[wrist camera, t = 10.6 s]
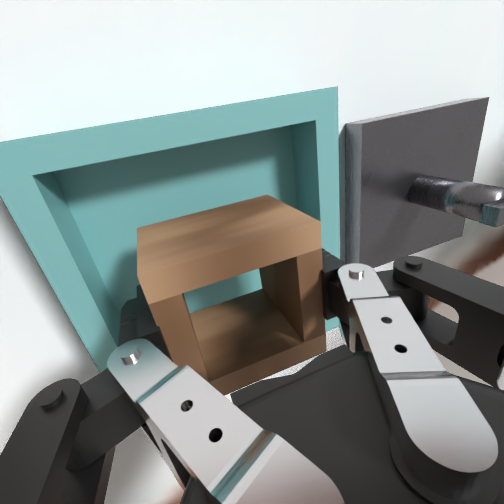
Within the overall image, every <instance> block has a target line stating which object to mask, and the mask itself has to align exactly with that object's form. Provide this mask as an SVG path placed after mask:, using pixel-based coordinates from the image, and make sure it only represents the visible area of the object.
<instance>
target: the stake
mask: <svg viewBox="0 0 504 504" xmlns="http://www.w3.org/2000/svg"><path fill="white" fill-rule="evenodd" d="M488 100H489V97H483V98H471V99H464V100H459V101H454V102H449V103H444V104H439V105H434V106H429V107H425V108H420V109H415V110H410V111H405V112H400V113H395V114H390V115H386V116H381V117H376V118H371V119H366V120H361V121H356V122H351V123H347V124H345V137H346V264H353V263H358V264H364V265H368V266H370V267H372V268H375V267H378V266H380V265H383V264H386V263H389V262H391V261H394V260H396V259H397V258H400V257H404V256H408V255H411V254H413V253H416V252H419V251H422V250H424V249H427V248H430V247H432V246H435V245H438V244H441V243H443V242H446V241H449V240H452V239H454V238H457V237H460V236H462V232H463V227H464V222H465V218H468V219H472V220H475V221H479V223H483V224H486V225H490V226H493V227H497V226H500V225H503V224H504V188H502V187H496V186H490V185H484V184H478V183H472V182H473V176H474V171H475V166H476V161H477V156H478V151H479V146H480V141H481V136H482V131H483V126H484V121H485V116H486V111H487V105H488Z"/></svg>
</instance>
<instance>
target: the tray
mask: <svg viewBox="0 0 504 504" xmlns="http://www.w3.org/2000/svg"><path fill="white" fill-rule="evenodd" d="M267 194H268V195H270V196H272V197H274V198H275V199H277V200H279V201H281V202H283V203H285V204H287V205H289V206H291V207H293V208H295V209H297V210H299V211H301V212H303V213H305V214H307V215H309V216H311V217H313V218H315V219H316V220H318V221H320V222H321V241H322V248H323V249H325V250H326V251H328V252H329V253H331V255H334V256H335V257H337V258H339V259H340V208H339V138H338V86H337V87H331V88H325V89H319V90H312V91H306V92H300V93H294V94H288V95H282V96H276V97H270V98H264V99H258V100H252V101H246V102H240V103H234V104H228V105H222V106H216V107H210V108H203V109H197V110H191V111H185V112H179V113H173V114H167V115H161V116H155V117H149V118H143V119H137V120H131V121H125V122H119V123H113V124H107V125H101V126H94V127H88V128H82V129H76V130H70V131H64V132H58V133H52V134H46V135H40V136H34V137H28V138H22V139H16V140H10V141H4V142H0V196H1V198H2V200H3V201H4V203H5V205H6V207H7V209H8V210H9V212H10V214H11V216H12V217H13V219H14V221H15V223H16V224H17V226H18V228H19V230H20V232H21V233H22V235H23V237H24V239H25V240H26V242H27V244H28V246H29V248H30V249H31V251H32V253H33V255H34V256H35V258H36V260H37V262H38V264H39V265H40V267H41V269H42V271H43V272H44V274H45V276H46V278H47V280H48V281H49V283H50V285H51V287H52V288H53V290H54V292H55V294H56V295H57V297H58V299H59V301H60V303H61V304H62V306H63V308H64V310H65V311H66V313H67V315H68V317H69V319H70V320H71V322H72V324H73V326H74V327H75V329H76V331H77V333H78V335H79V336H80V338H81V340H82V342H83V343H84V345H85V347H86V349H87V350H88V352H89V354H90V356H91V358H92V359H93V361H94V363H95V365H96V366H97V368H98V370H99V372H100V373H101V372H103V371H104V370H105V369H106V368H107V361H108V358H109V356H110V355H111V354H112V352H113V351H114V350H115V349H116V348H118V342H119V329H120V319H121V309H122V307H123V306H124V304H125V303H126V301H127V300H130V299H134V298H137V285H140V282H139V279H138V277H137V228H138V227H142V226H146V225H150V224H154V223H158V222H162V221H166V220H170V219H174V218H178V217H181V216H185V215H189V214H193V213H197V212H201V211H205V210H209V209H213V208H217V207H220V206H224V205H228V204H232V203H236V202H240V201H244V200H248V199H252V198H256V197H259V196H263V195H267ZM260 289H262V284H261V278H260V272H259V269H256V270H253V271H250V272H247V273H244V274H241V275H237V276H234V277H231V278H228V279H225V280H222V281H219V282H216V283H213V284H210V285H207V286H204V287H201V288H198V289H194V290H191V291H188V292H185V293H183V294H184V297H185V300H186V303H187V307H188V310H189V313H193V312H196V311H199V310H202V309H205V308H208V307H211V306H213V305H216V304H219V303H222V302H225V301H228V300H231V299H234V298H237V297H239V296H242V295H245V294H248V293H251V292H254V291H257V290H260ZM336 327H339V318H338V317H334V318H332V319H329V320H326V319H325V331H326V332H327V331H329V330H331V329H334V328H336Z"/></svg>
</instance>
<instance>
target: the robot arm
mask: <svg viewBox="0 0 504 504" xmlns="http://www.w3.org/2000/svg"><path fill="white" fill-rule="evenodd" d="M322 264H323V269H321V279H322V299H323V317H324V318H325V319H326V320H329V319H332V318H334V317H338V318H339V328H340V332H341V336H342V339H343V343H344V345H342V346H339V347H337V348H335V349H332V350H330V351H328V352H325V353H323V354H321V355H319V356H317V357H316V358H315V359H314V360H312V361H311V362H310V363H308V364H307V365H306V366H305V367H303V368H302V369H301V370H299V371H298V372H297V373H295V374H292V375H287V376H282V377H277V378H272V379H266V380H261V381H259V382H256V383H254V384H252V385H249V386H247V387H245V388H243V389H240V390H238V391H236V392H233V393H231V394H230V395H231V398H232V402H233V403H232V402H230V401H229V400H228V399H227V398H226V397H225V396H223V395H222V394H221V393H220V392H219V391H217V390H216V389H215V388H214V387H213V386H212V385H210V384H209V383H208V382H207V381H206V380H205V379H203V378H202V377H201V376H200V375H199V374H198V373H196V372H195V371H194V370H193V369H192V368H190V367H189V366H188V365H186V364H182V365H181V366H179V367H178V366H177V365H176V364H175V363H173V360H172V358H171V355H170V353H169V350H168V347H167V345H166V342H165V340H164V337H163V334H162V332H161V329H160V327H159V326H156V323H155V320H154V318H153V315H152V313H151V310H150V308H149V305H148V302H147V300H146V297H145V295H144V292H143V290H142V287H141V285H137V298H134V299H130V300H127V301H126V303H125V304H124V306H123V307H122V309H121V319H120V329H119V342H118V348H116V349H115V350H114V351H113V352H112V354H111V355H110V356H109V358H108V361H107V368H106V369H105V370H104V371H103V372H101V373H100V374H98V375H97V376H95V377H93V378H92V379H90V380H89V381H87V382H85V383H84V384H82V385H80V383H79V382H78V381H77V380H75V379H63V380H60V381H57V382H55V383H53V384H51V385H49V386H47V387H46V388H44V389H43V390H42V391H40V392H39V393H38V394H37V395H36V396H35V397H34V398H33V399H32V400H31V401H30V403H29V404H28V406H27V407H26V409H25V411H24V413H23V415H22V416H21V418H20V420H19V422H18V424H17V426H16V427H15V429H14V431H13V433H12V435H11V437H10V438H9V440H8V442H7V444H6V446H5V448H4V449H3V451H2V453H1V455H0V504H104V500H105V495H106V490H107V485H108V481H109V476H110V471H111V466H112V461H113V456H114V451H115V445H117V444H118V443H119V442H121V441H122V440H123V439H125V438H126V437H127V436H129V435H130V434H131V433H133V432H134V431H135V430H137V429H138V428H139V427H140V428H141V429H142V430H143V432H144V433H145V435H146V436H147V437H148V439H149V440H150V441H151V443H152V444H153V446H154V447H155V448H156V450H157V451H158V452H159V454H160V455H161V457H162V458H163V459H164V461H165V462H166V464H167V465H168V467H169V468H170V470H171V472H172V473H173V475H174V477H175V478H176V480H177V481H178V483H179V484H180V486H181V487H182V489H183V490H184V494H183V497H182V499H181V502H180V504H504V287H502V286H499V285H496V284H494V283H491V282H488V281H485V280H483V279H480V278H477V277H475V276H472V275H469V274H466V273H463V272H461V271H458V270H455V269H452V268H450V267H447V266H444V265H441V264H438V263H436V262H433V261H430V260H427V259H425V258H421V257H416V256H404V257H400V258H397V259H396V260H395V261H394V264H393V270H388V271H380V272H375V270H374V269H373V268H372V267H370V266H368V265H364V264H358V263H353V264H346V263H345V262H343V261H342V260H340V259H339V258H337V257H335V256H334V255H331V253H329V252H328V251H326V250H325V249H323V248H322ZM430 297H433V298H435V299H437V300H439V301H441V302H443V303H446V304H448V305H450V306H452V307H453V308H454V309H455V310H456V311H457V313H458V315H459V322H458V323H456V322H453V321H452V320H450V319H448V318H446V317H444V316H442V315H440V314H438V313H436V312H434V311H432V310H430V309H428V304H429V298H430ZM432 349H433V350H435V351H436V352H438V353H439V354H441V355H443V356H445V357H446V358H448V359H449V360H451V361H453V362H454V363H456V364H457V365H459V366H461V367H462V368H464V369H465V370H467V371H469V372H470V373H472V374H474V375H475V376H477V377H479V378H480V379H482V380H483V381H485V382H487V383H488V384H490V385H492V386H493V387H491V386H488V385H485V384H482V383H479V382H475V381H472V380H469V379H466V378H462V377H459V376H456V375H453V374H450V373H448V372H447V371H446V370H445V369H444V367H443V366H442V364H441V362H440V361H439V359H438V358H437V356H436V354H435V353H434V351H433V350H432Z"/></svg>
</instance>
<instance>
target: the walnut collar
mask: <svg viewBox="0 0 504 504" xmlns="http://www.w3.org/2000/svg"><path fill="white" fill-rule="evenodd" d="M256 269H259V272H260V278H261V284H262V289H260V290H257V291H254V292H251V293H248V294H245V295H242V296H239V297H237V298H234V299H231V300H228V301H225V302H222V303H219V304H216V305H213V306H211V307H208V308H205V309H202V310H199V311H196V312H193V313H189V310H188V307H187V303H186V300H185V297H184V294H183V293H185V292H188V291H191V290H194V289H198V288H201V287H204V286H207V285H210V284H213V283H216V282H219V281H222V280H225V279H228V278H231V277H234V276H237V275H241V274H244V273H247V272H250V271H253V270H256ZM321 269H323V264H322V241H321V222H320V221H318V220H316V219H315V218H313V217H311V216H309V215H307V214H305V213H303V212H301V211H299V210H297V209H295V208H293V207H291V206H289V205H287V204H285V203H283V202H281V201H279V200H277V199H275V198H274V197H272V196H270V195H268V194H267V195H263V196H259V197H256V198H252V199H248V200H244V201H240V202H236V203H232V204H228V205H224V206H220V207H217V208H213V209H209V210H205V211H201V212H197V213H193V214H189V215H185V216H181V217H178V218H174V219H170V220H166V221H162V222H158V223H154V224H150V225H146V226H142V227H138V228H137V277H138V279H139V282H140V285H141V287H142V290H143V292H144V295H145V297H146V300H147V302H148V305H149V308H150V310H151V313H152V315H153V318H154V320H155V323H156V326H159V327H160V329H161V332H162V334H163V337H164V340H165V342H166V345H167V347H168V350H169V353H170V355H171V358H172V360H173V363H175V364H176V365H177V366H178V367H179V366H181V365H182V364H186V365H188V366H189V367H190V368H192V369H193V370H194V371H195V372H196V373H198V374H199V375H200V376H201V377H202V378H203V379H205V380H206V381H207V382H208V383H209V384H210V385H212V386H213V387H214V388H215V389H216V390H217V391H219V392H220V393H221V394H222V395H223V396H224V395H227V394H229V393H231V392H234V391H236V390H238V389H241V388H243V387H245V386H248V385H250V384H252V383H254V382H257V381H259V380H261V379H264V378H266V377H268V376H271V375H273V374H275V373H278V372H280V371H282V370H284V369H287V368H289V367H291V366H294V365H296V364H298V363H301V362H303V361H305V360H308V359H310V358H312V357H314V356H317V355H319V354H321V353H324V352H326V331H325V318H324V317H323V299H322V279H321Z"/></svg>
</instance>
